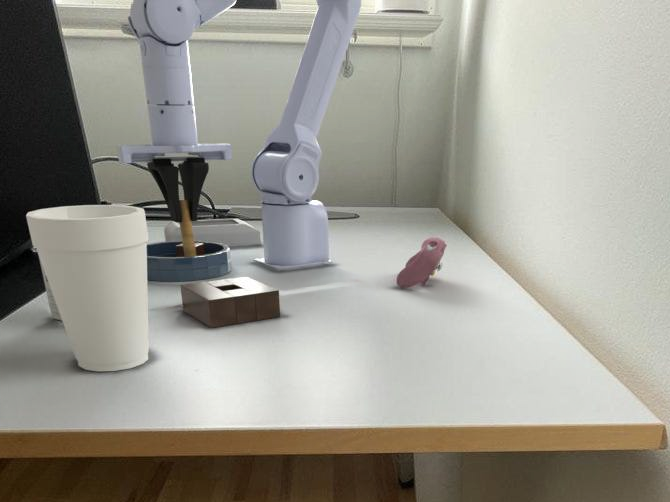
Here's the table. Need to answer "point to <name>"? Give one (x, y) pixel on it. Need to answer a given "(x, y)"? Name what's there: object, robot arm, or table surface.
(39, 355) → the table surface
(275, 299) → the stick stand
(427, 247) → the pink rounded piece
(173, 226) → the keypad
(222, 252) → the bowl
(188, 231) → the stirring stick
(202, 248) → the walnut block
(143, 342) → the foam cup
